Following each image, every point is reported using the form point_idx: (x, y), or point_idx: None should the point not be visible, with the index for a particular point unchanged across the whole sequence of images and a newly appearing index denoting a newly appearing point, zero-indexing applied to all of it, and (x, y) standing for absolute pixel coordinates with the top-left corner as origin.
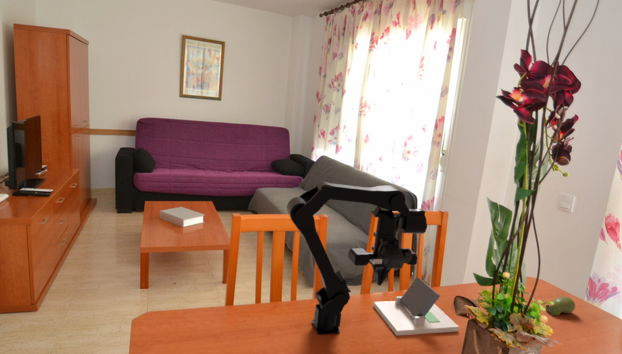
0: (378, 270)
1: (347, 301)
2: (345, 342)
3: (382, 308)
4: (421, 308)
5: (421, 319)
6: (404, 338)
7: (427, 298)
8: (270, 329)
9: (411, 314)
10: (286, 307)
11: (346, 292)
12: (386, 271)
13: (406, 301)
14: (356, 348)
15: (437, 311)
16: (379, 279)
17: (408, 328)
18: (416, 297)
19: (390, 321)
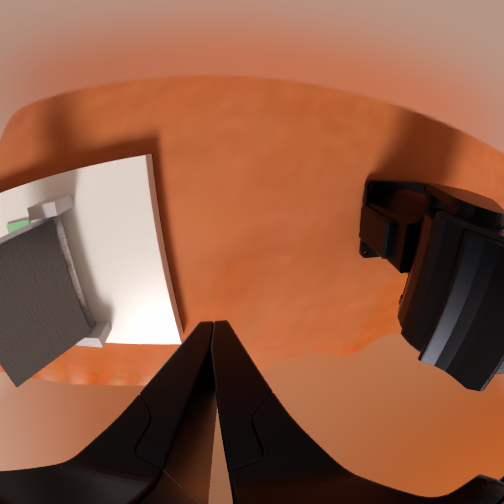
0: (304, 465)
1: (430, 215)
2: (363, 127)
3: (159, 307)
4: (22, 237)
5: (41, 203)
6: (128, 137)
7: None
8: None
9: (67, 250)
10: None
11: (483, 228)
12: (139, 447)
13: (70, 311)
14: (337, 89)
15: None
16: (232, 359)
17: (97, 175)
18: (28, 302)
19: (151, 222)
